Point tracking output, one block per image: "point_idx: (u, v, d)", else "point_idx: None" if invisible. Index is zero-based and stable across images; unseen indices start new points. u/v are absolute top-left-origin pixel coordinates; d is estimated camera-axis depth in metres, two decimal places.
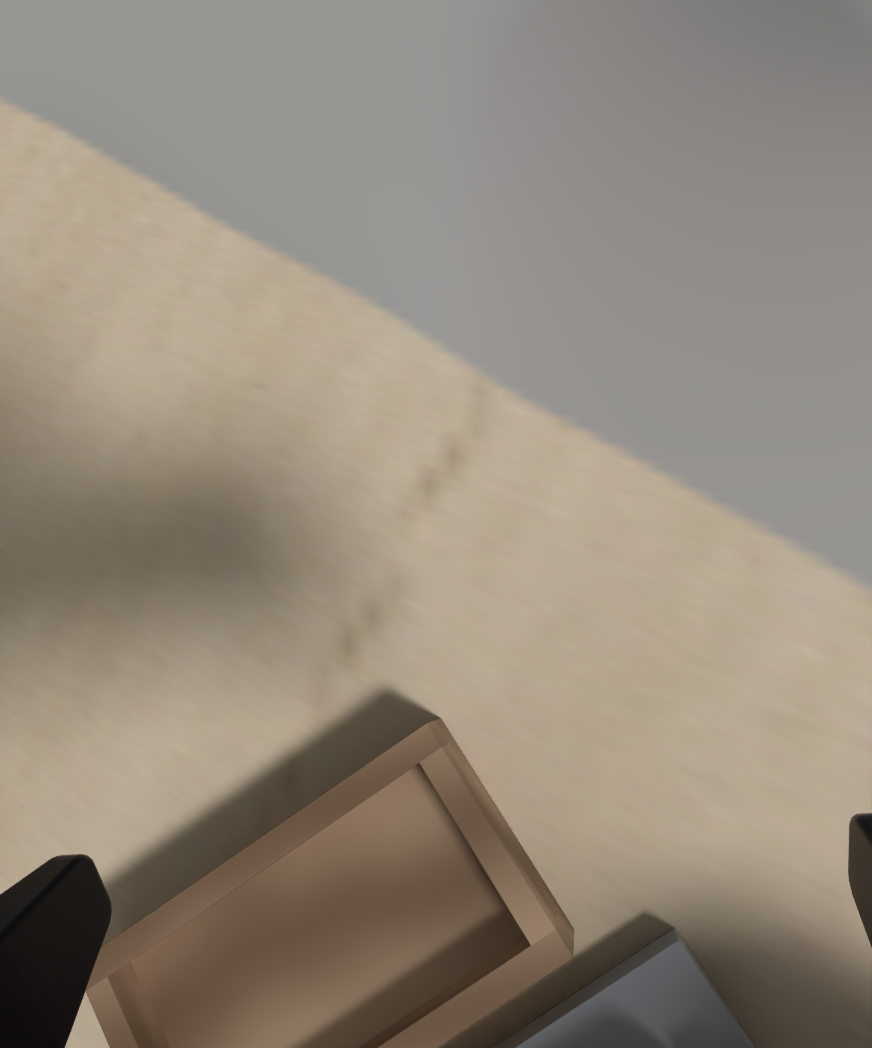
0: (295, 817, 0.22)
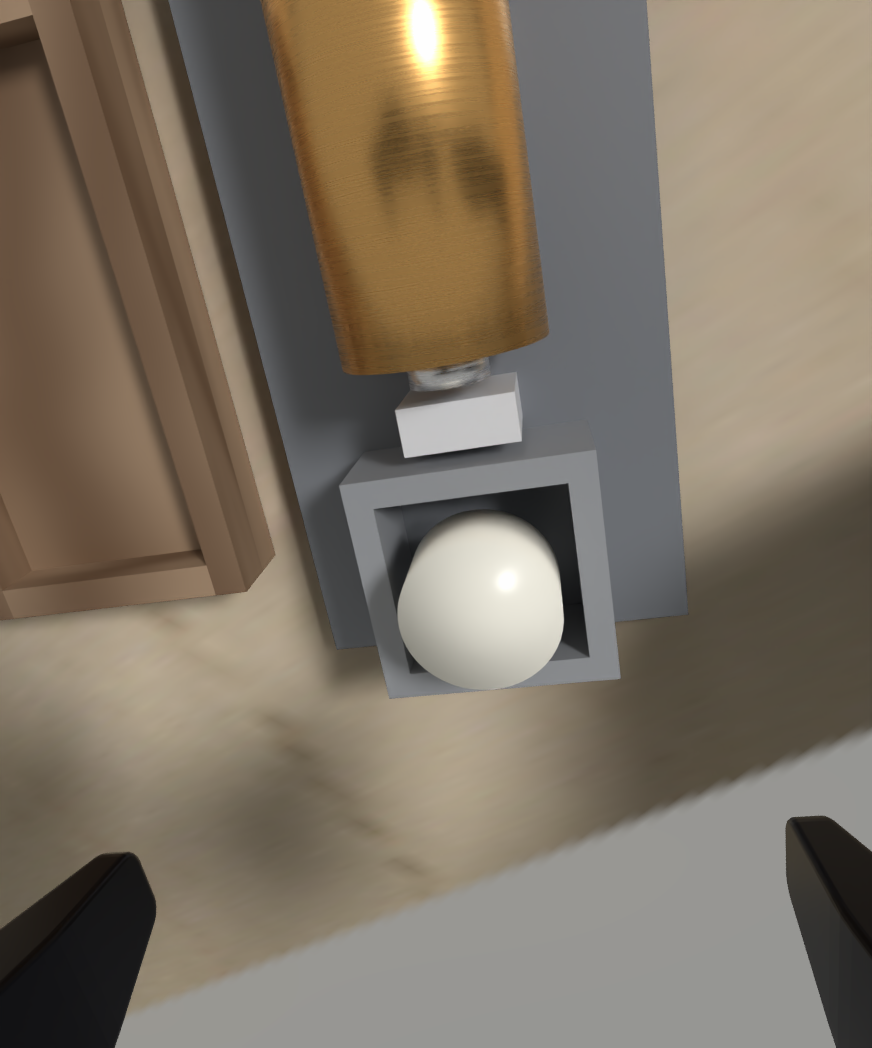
0: None
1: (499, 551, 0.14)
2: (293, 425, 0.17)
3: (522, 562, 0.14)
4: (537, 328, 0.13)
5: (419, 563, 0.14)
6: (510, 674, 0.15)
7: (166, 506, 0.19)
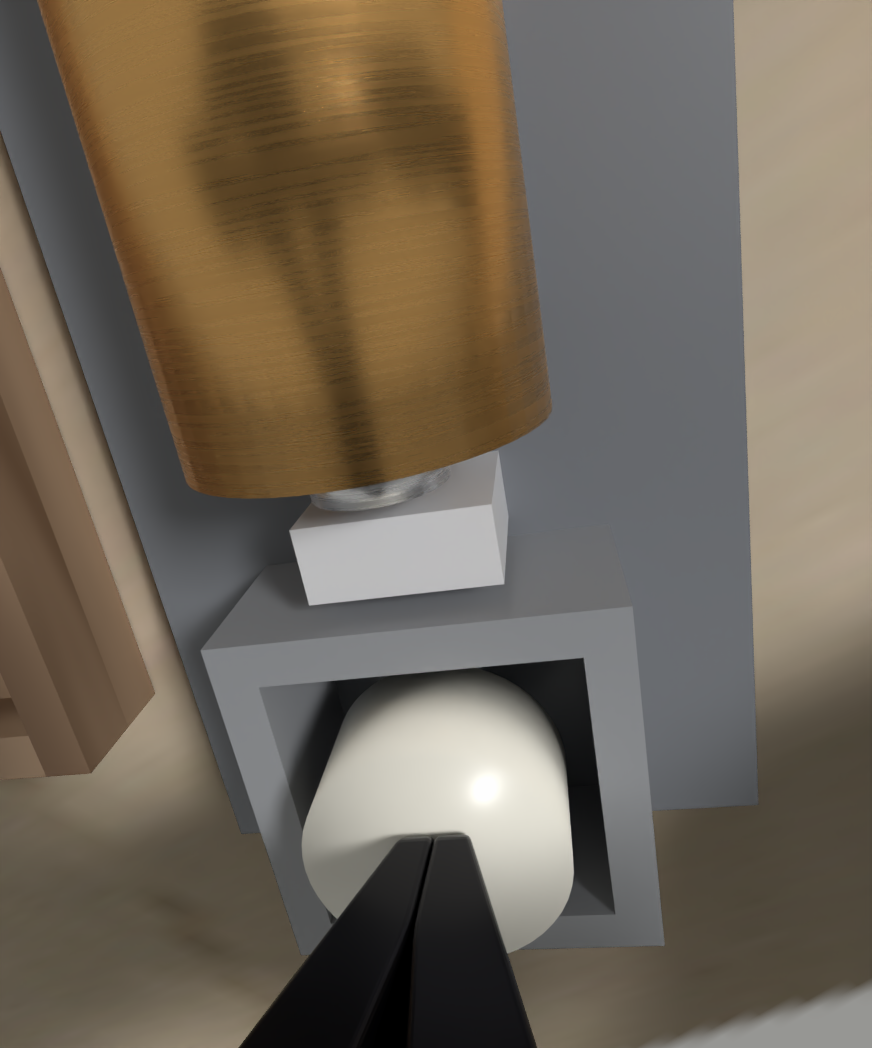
0: None
1: (466, 766, 0.08)
2: (157, 525, 0.11)
3: (504, 784, 0.08)
4: (530, 407, 0.07)
5: (334, 778, 0.08)
6: None
7: None
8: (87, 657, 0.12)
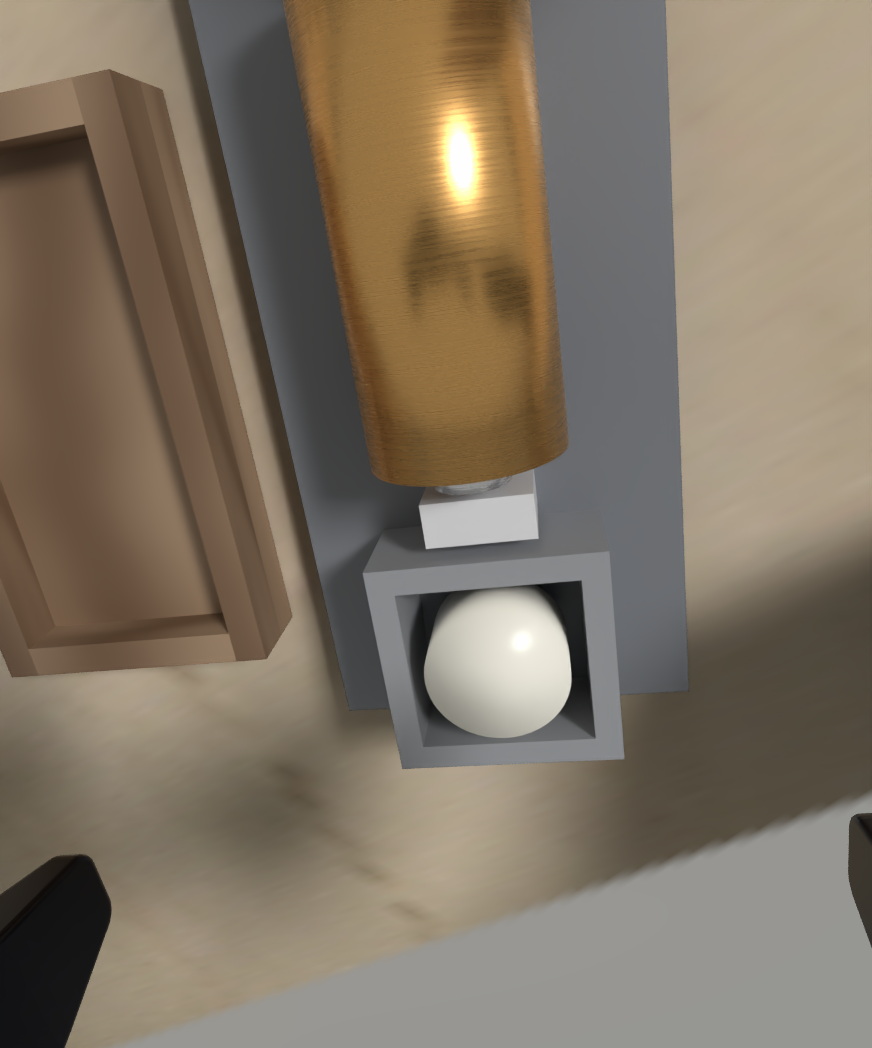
0: None
1: (517, 620, 0.15)
2: (316, 502, 0.18)
3: (536, 630, 0.15)
4: (559, 444, 0.14)
5: (445, 627, 0.16)
6: (522, 725, 0.16)
7: (190, 572, 0.19)
8: (263, 586, 0.19)
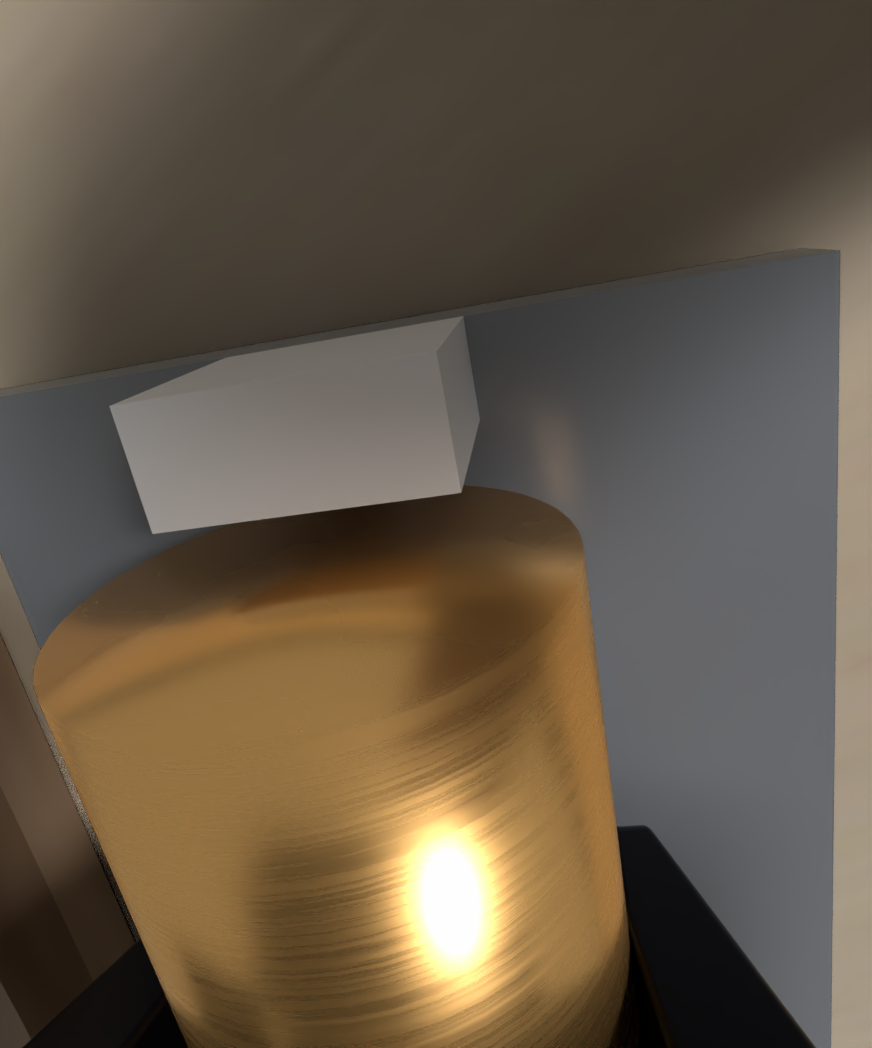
0: None
1: None
2: None
3: None
4: None
5: None
6: None
7: None
8: None
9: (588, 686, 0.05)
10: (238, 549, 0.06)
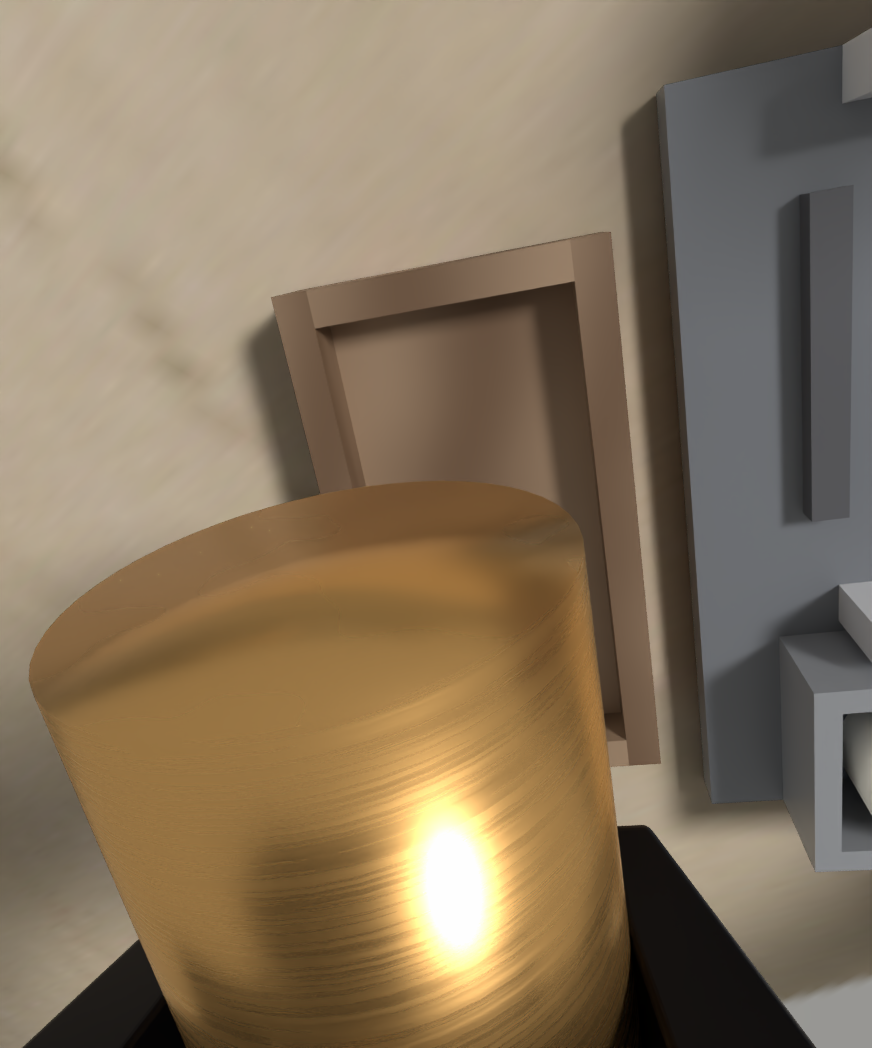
0: None
1: None
2: (713, 612, 0.19)
3: None
4: None
5: None
6: None
7: None
8: None
9: (587, 683, 0.05)
10: (236, 545, 0.06)
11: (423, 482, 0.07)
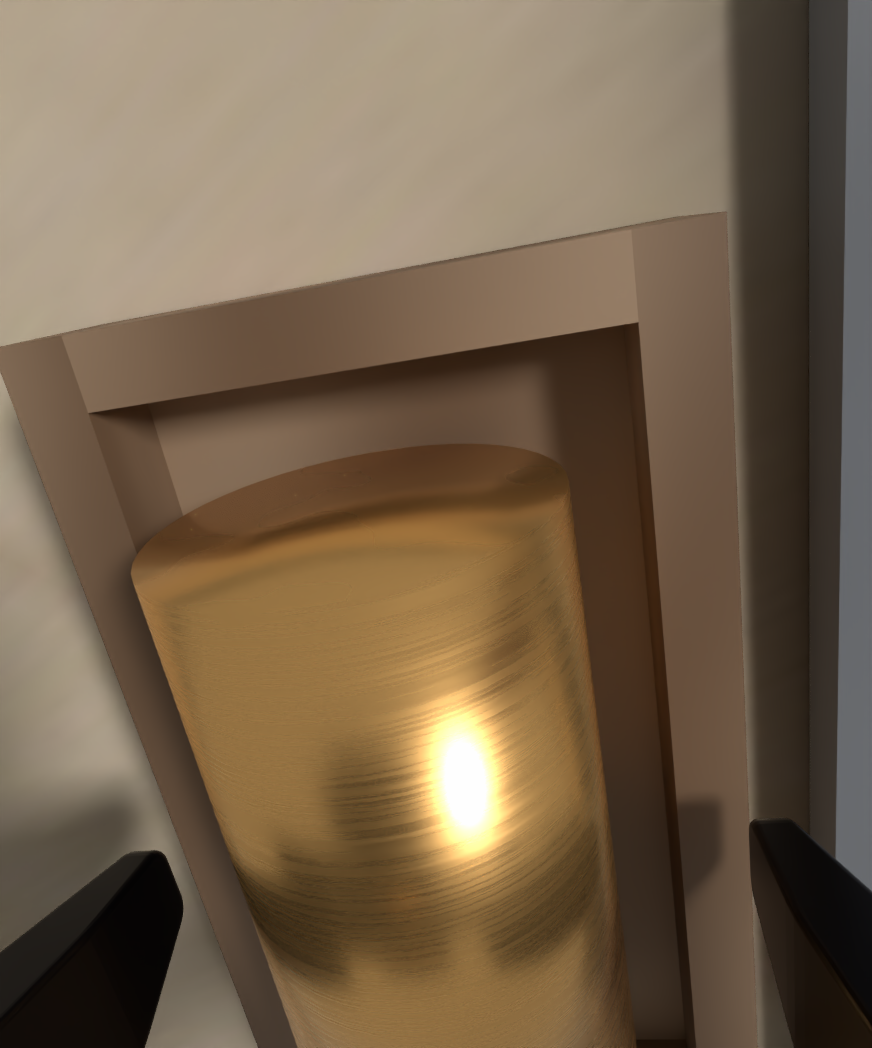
0: (145, 735, 0.09)
1: None
2: None
3: None
4: None
5: None
6: None
7: None
8: None
9: (569, 592, 0.06)
10: (284, 493, 0.08)
11: (439, 445, 0.08)
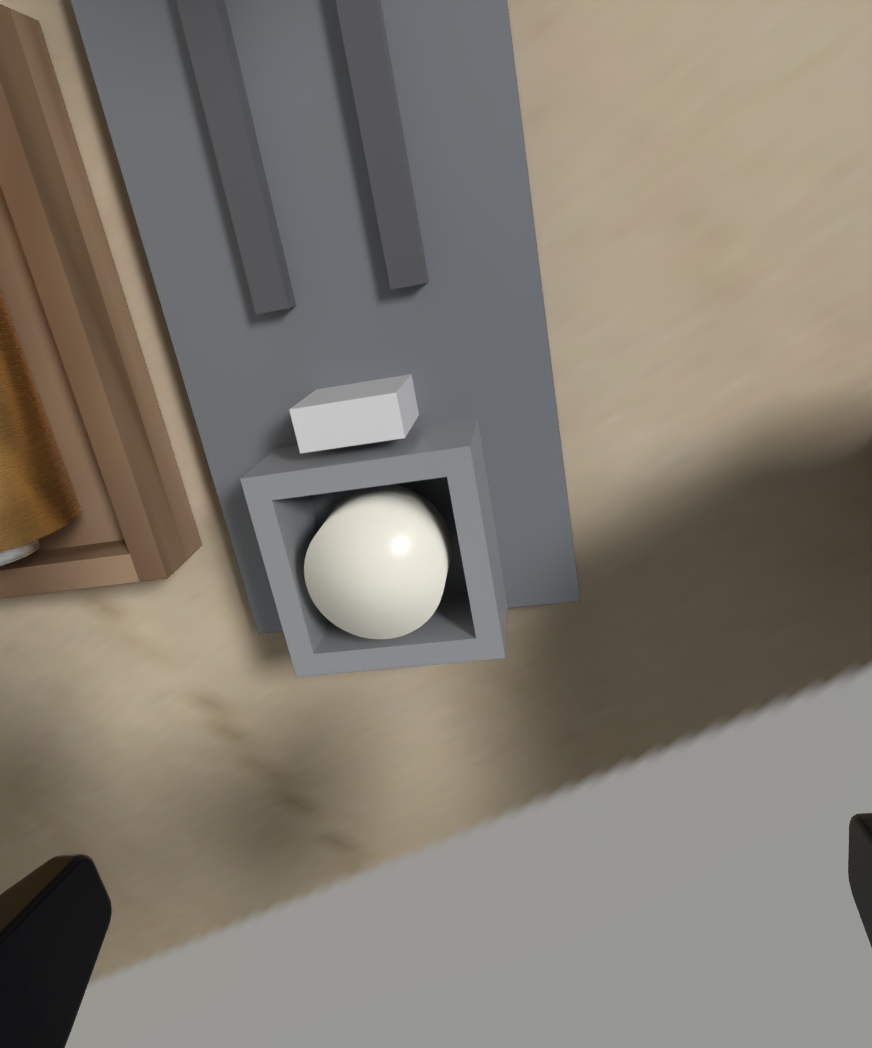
0: None
1: (386, 518, 0.16)
2: (209, 423, 0.19)
3: (406, 526, 0.16)
4: (34, 530, 0.17)
5: (320, 528, 0.16)
6: (402, 625, 0.17)
7: (95, 499, 0.20)
8: (164, 509, 0.19)
9: None
10: None
11: None
